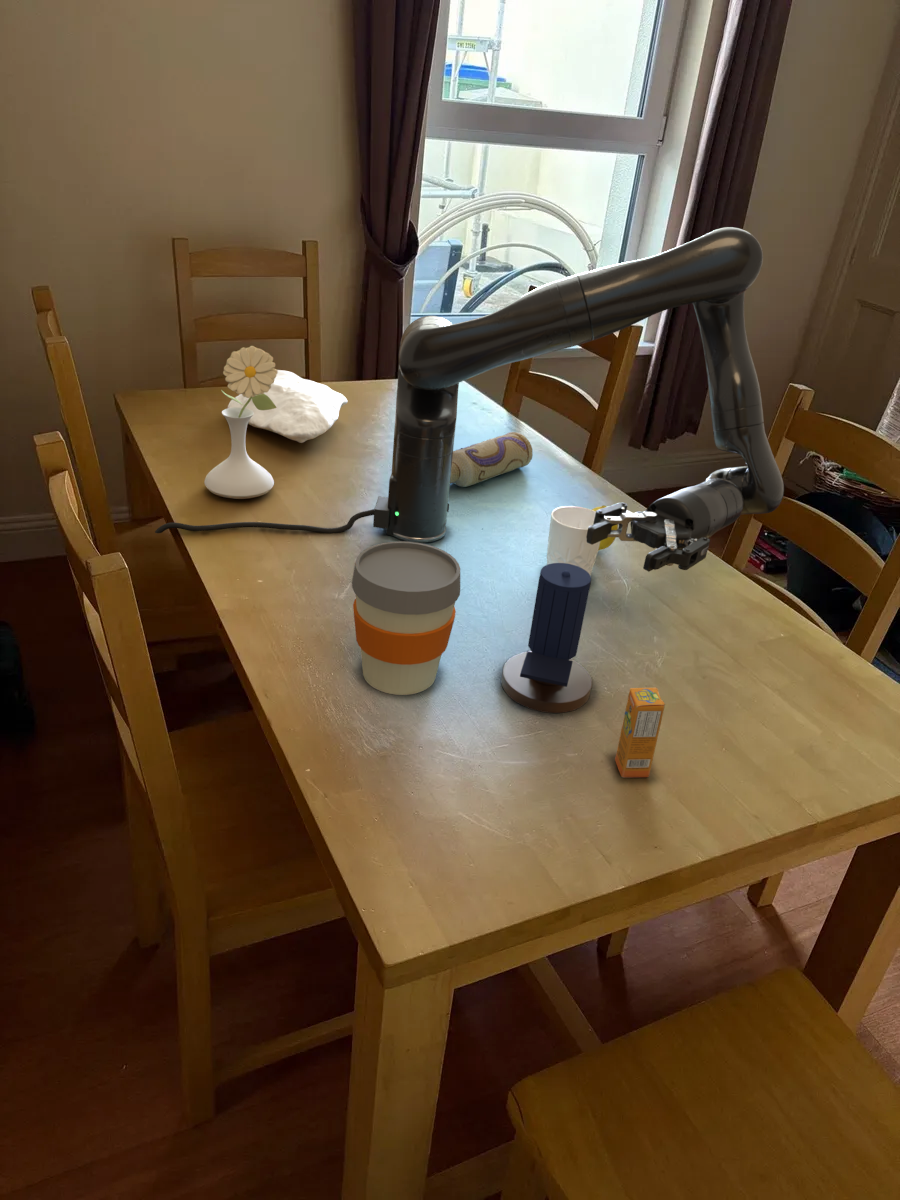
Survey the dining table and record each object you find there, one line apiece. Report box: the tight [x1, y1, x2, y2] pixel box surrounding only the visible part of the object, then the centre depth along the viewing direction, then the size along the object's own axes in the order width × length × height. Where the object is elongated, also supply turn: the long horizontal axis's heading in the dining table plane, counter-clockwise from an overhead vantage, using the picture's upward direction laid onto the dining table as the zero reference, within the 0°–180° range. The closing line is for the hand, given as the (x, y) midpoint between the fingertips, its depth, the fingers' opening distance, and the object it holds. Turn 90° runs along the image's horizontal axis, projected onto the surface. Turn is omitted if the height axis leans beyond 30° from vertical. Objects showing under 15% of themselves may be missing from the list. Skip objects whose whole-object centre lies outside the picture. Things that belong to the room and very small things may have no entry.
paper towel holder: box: [500, 650, 593, 714], centre depth 106 cm, size 11×11×15 cm
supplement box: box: [614, 687, 666, 779], centre depth 95 cm, size 3×3×10 cm
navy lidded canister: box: [520, 563, 592, 687], centre depth 102 cm, size 10×6×10 cm, turn 166°
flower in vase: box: [203, 345, 278, 500], centre depth 144 cm, size 13×11×25 cm
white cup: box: [546, 505, 600, 577], centre depth 132 cm, size 8×8×10 cm
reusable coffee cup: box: [351, 540, 461, 696], centre depth 105 cm, size 12×13×15 cm
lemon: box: [591, 505, 619, 552], centre depth 141 cm, size 6×6×8 cm
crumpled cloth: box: [227, 369, 348, 444], centre depth 177 cm, size 24×35×9 cm
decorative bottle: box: [450, 431, 533, 488], centre depth 162 cm, size 26×8×7 cm, turn 137°
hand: (617, 549), depth 109 cm, fingers open, 8 cm apart
